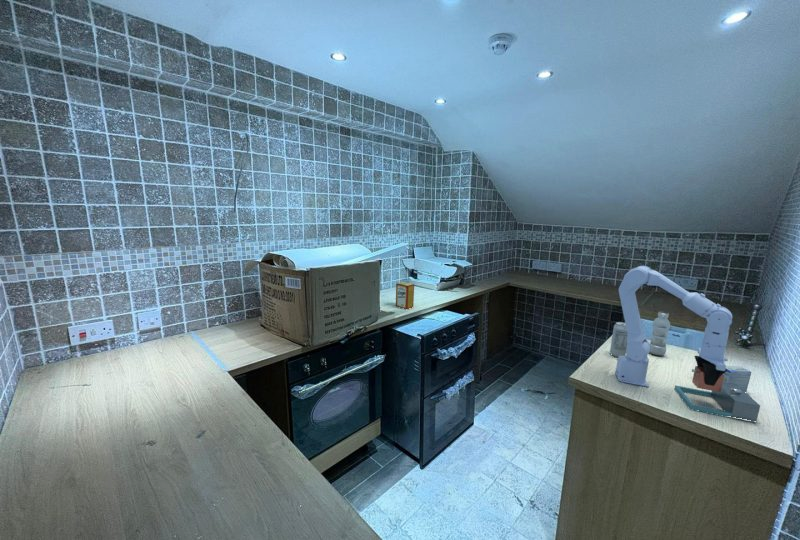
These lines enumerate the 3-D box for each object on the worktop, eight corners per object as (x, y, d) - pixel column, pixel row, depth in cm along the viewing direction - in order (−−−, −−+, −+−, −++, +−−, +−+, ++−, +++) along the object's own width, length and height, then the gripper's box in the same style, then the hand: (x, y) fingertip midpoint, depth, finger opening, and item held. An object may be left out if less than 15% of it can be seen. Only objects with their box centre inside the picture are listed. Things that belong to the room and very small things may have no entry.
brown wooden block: (692, 387, 112) (695, 370, 111) (687, 381, 116) (690, 365, 115) (720, 392, 109) (724, 375, 108) (714, 385, 113) (717, 369, 112)
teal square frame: (689, 409, 109) (693, 389, 108) (674, 389, 122) (677, 371, 121) (755, 423, 103) (761, 402, 102) (732, 400, 116) (736, 381, 114)
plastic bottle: (649, 355, 151) (656, 313, 147) (646, 350, 157) (653, 309, 153) (666, 358, 148) (674, 316, 144) (663, 353, 154) (670, 312, 150)
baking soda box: (413, 307, 213) (414, 283, 210) (406, 309, 208) (407, 285, 206) (402, 304, 219) (402, 281, 217) (395, 306, 215) (396, 282, 212)
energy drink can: (624, 354, 151) (629, 323, 148) (625, 359, 146) (631, 327, 143) (609, 351, 154) (614, 320, 151) (609, 356, 149) (614, 324, 146)
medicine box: (734, 386, 125) (739, 365, 123) (746, 393, 121) (752, 371, 119) (714, 386, 125) (718, 365, 123) (726, 393, 120) (731, 371, 119)
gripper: (741, 354, 101) (732, 394, 104) (719, 338, 115) (711, 374, 117) (712, 349, 104) (704, 389, 107) (693, 334, 117) (686, 370, 120)
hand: (706, 381), depth 112 cm, fingers closed on brown wooden block, 4 cm apart
